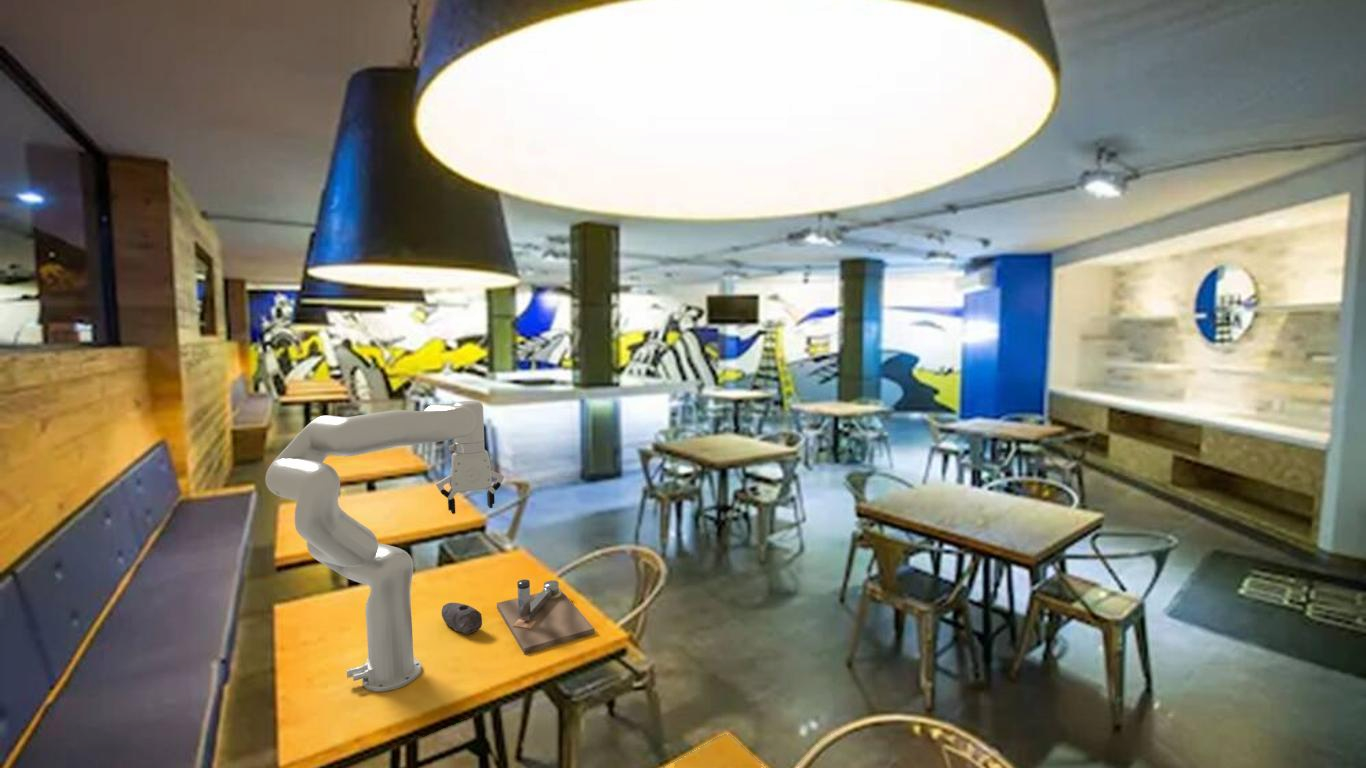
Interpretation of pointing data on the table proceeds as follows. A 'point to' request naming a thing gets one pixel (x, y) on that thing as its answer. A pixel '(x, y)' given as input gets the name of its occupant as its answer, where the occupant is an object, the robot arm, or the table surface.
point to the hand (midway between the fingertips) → (471, 509)
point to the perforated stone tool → (462, 617)
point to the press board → (545, 623)
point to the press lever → (531, 609)
